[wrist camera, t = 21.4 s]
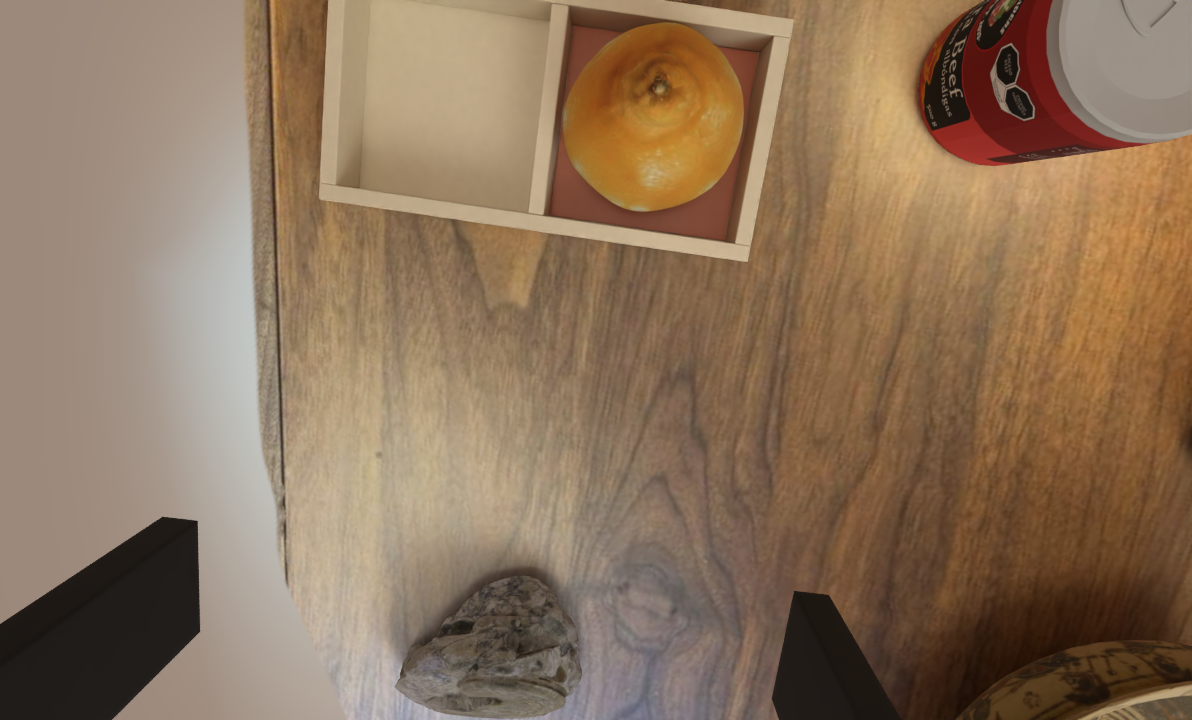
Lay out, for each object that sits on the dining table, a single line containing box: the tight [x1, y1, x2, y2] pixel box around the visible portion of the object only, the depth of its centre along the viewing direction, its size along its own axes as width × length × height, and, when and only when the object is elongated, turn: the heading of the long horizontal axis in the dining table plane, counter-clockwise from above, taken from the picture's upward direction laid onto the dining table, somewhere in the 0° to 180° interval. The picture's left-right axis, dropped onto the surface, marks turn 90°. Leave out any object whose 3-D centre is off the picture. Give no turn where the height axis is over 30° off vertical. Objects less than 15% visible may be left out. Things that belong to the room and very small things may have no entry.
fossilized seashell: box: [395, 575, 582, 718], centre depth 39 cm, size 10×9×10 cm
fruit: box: [563, 22, 744, 212], centre depth 29 cm, size 8×8×8 cm
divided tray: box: [319, 0, 794, 262], centre depth 32 cm, size 11×21×4 cm, turn 82°
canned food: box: [918, 0, 1192, 166], centre depth 27 cm, size 8×8×11 cm
